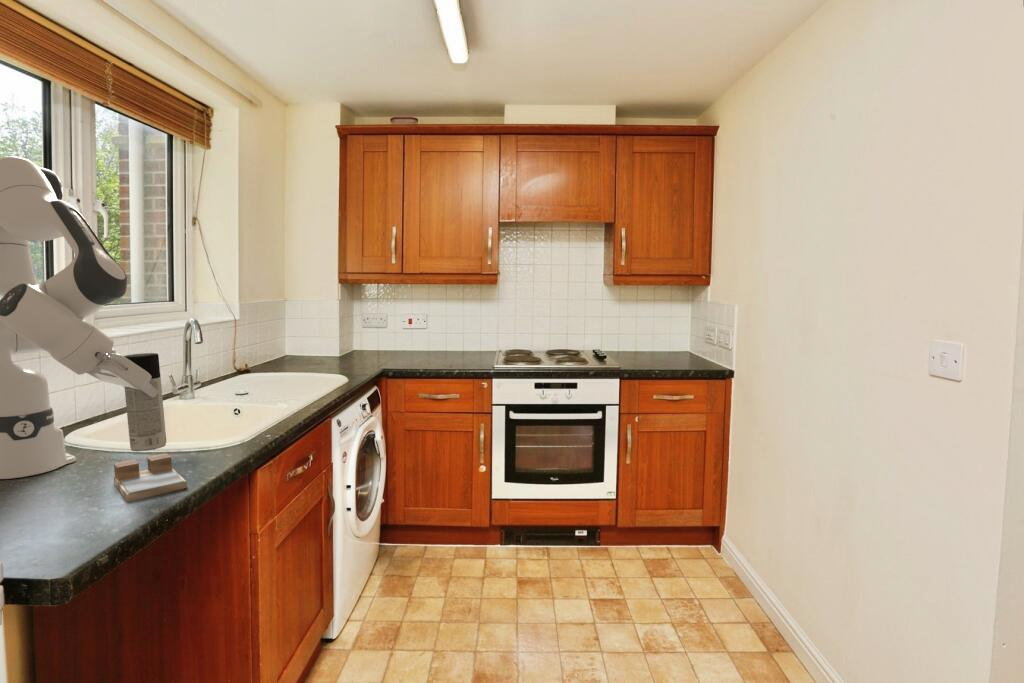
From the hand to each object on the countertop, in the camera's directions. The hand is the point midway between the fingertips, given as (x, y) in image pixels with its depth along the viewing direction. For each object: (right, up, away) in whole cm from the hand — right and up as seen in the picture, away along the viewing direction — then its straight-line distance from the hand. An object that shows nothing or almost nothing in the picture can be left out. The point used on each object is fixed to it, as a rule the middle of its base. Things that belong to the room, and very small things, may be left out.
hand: (147, 392), depth 126 cm
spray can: (0, -12, +1) cm, 12 cm away
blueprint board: (-2, -21, +4) cm, 21 cm away
